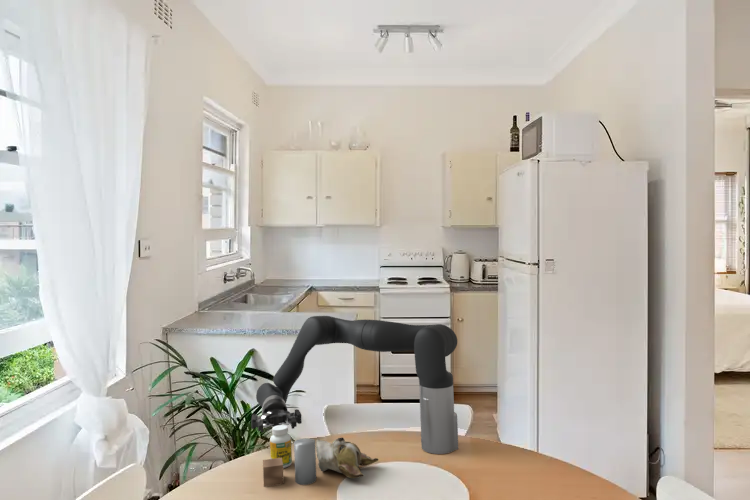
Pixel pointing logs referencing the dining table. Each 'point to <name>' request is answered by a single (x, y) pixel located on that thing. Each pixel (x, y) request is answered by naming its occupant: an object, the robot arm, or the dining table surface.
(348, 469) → the ceramic sculpture
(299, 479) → the light grey cylinder
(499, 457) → the dining table surface
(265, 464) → the walnut block
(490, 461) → the dining table surface
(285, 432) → the supplement bottle
